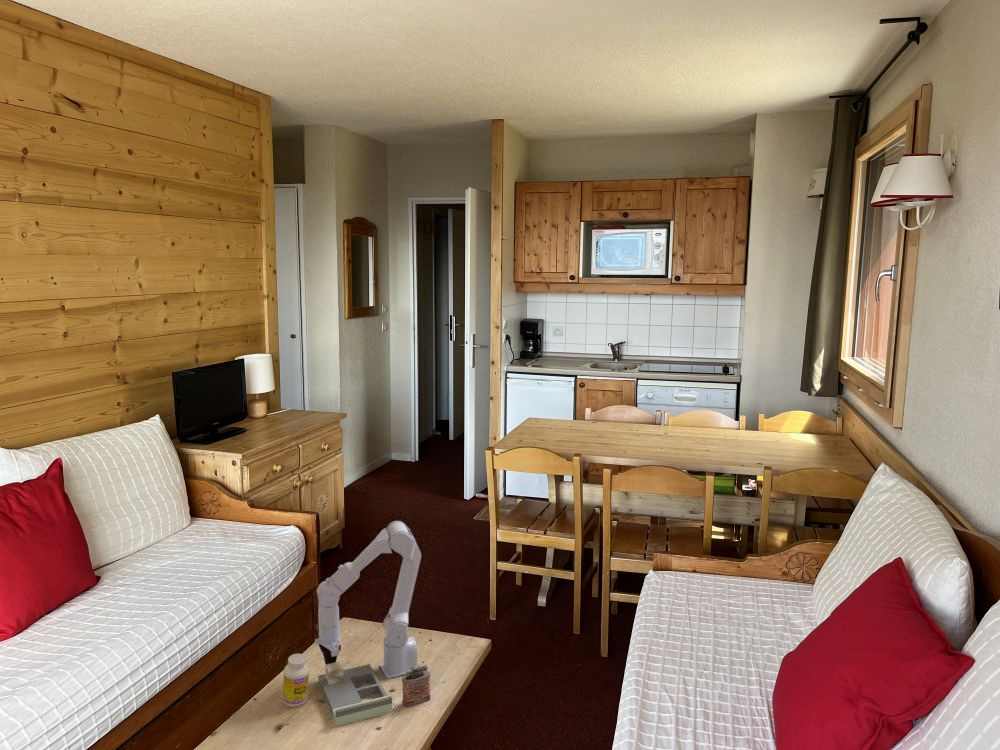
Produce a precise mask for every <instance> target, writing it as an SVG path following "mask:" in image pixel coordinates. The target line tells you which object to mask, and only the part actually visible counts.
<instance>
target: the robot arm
mask: <svg viewBox="0 0 1000 750" xmlns="http://www.w3.org/2000/svg"><path fill="white" fill-rule="evenodd" d="M392 550H393V551H394V552H396V553H398V554H399V555H401V557H402V562H401V565H400V571H399V575H398V578H397V583H396V588H395V592H394V597H393V601H392V604H391V606H390V608H389V610H388V613H387V615H386V617H385V618H384V619H383V622H382V627H383V629H384V632H385V636H384V638H383V663H380V664H379V667H380V668H381V670H382V672H383V674H384V675H385V677H386V678H387V679H391V678H392V679H393V678H394V677H400V676H405V675H406V670H408V669H411V668H412V667H413V666H415V667H418V646H417V642H416V640H415V637H413V636H410V633H409V630H408V627H409V611H410V607H411V603H412V598H413V595H414V594H413V593H414V589H415V585H416V581H417V576H418V572H419V568H420V564H421V559H422V553H421V550H420V548H419V545H418V543H417V541H416V538H415V537H414V535H413V533H412V531H411V529H410V528H409V526H407V525H406V523H405V522H403V521H400V520H394V521H392V522H389V524H388V525H387V527H385V528H383V529H382V530H381V531H380V532H379V533H378V534H377V535H376V537H375V538H374V539H373V540H372V541H371V542H370V544H369V545H368V546H366V547H365V549H363V551H361V552H360V554H358V556H357V557H356V558H355V559H354V560H353V561H349V562H348V561H347V562H345V563H343V564H339V566H338V567H337V568H338V569H337V570H336V571H335V573H333V574H331V576H330V577H326V579H325V580H324V581H322V582H320V584H318V587H317V589H316V593H317V600H318V602H317V603H318V604H317V605H318V610H317V613H318V614H317V615H318V638H315V639H314V642H315V644H316V645H318V647H319V649H320V651H321V653H322V655H323V660H324V663H325V665H326V664H331V663H335V662H337V659H338V656H339V655H340V651H341V649H342V645H341V644H340V642H341V635H340V607H339V605H338V604H339V601H340V598H341V595H343V594H344V593H345V592H346V590H348V589H349V588H350V587H351V586H352V585H353V584H354V583H355V582H356V581H357V580H358V579H359V578H360V577H361V575H360V573H361V571H363V569H364V568H365V567H367V566H368V565H369V564H370V563H371V562H373V560H375V559H376V558H377V557H378V556H379V555H381V554H392V553H393V552H392Z"/></svg>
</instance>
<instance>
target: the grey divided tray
mask: <svg viewBox="0 0 1000 750" xmlns="http://www.w3.org/2000/svg"><path fill="white" fill-rule="evenodd" d="M317 680H318V683H319V684H318V686H319V689H320V690H321V693H322V695H323V696H322V697H324V700H325V703H326V705H327V707H328V710H329V712H330V714H331V717H332V720H333V721H334V723H335V726H336V727H340V726H343V725H347V724H350V723H355V722H359V721H363V720H367V719H370V718H374V717H378V716H382V715H386V714H390V713H393V697H392V696H391V695H390V696H388V694H387V692H386V690H385V688H384V686H383V685H382V683H381V681H380V680H379V678H378V676H377V675H376V673H375V671H374V668H373V667H372V666H371V663H367V664H364V665H358V666H355V667H350V668H346V669H343V682H339V683H335V684H331V685H329V684H328V681H327V679H326V673H325V674H320V675H317ZM369 682H371V683H372V684H370V685H365V686H362V687H358V688H357V687H355V686H357V685H361V684H365V683H369ZM373 695H374V696H375V695H378V696H379V697H377V698H373V699H369V700H364V701H363V700H362V698H363V699H364V698H366V697H370V696H373Z"/></svg>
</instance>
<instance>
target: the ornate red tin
mask: <svg viewBox="0 0 1000 750" xmlns="http://www.w3.org/2000/svg"><path fill="white" fill-rule="evenodd" d="M428 668H429V667H428V665H427V664H423V665H420V666H417V667H415V666H413V667H412V668H411V669H408V670H406V674H405V675H403V676H402V677H401V682H402V700H401V702H402V703H401V704H402V707H405V708H408V707H414V706H418V705H422V704H424V702H425V703H427V702H430V701H431V698H432V697H431V686H430V685H431V683H430V682H431V681H430V680H431V679H430V678H431V672H430V671H428V670H429V669H428Z"/></svg>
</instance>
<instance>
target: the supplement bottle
mask: <svg viewBox="0 0 1000 750" xmlns="http://www.w3.org/2000/svg"><path fill="white" fill-rule="evenodd" d="M309 677H310V668H309V665H308V664H307V657H306V655H304V654H302V653H293V654H291V655H290V656H289V657H288V658H287V664H286V665H285V667H284V669H283V684H282V702H283V703H284V704H285V705H286V706H289V707H291V708H293V707H299V706H302V705H304V704H305V703H306V702H307V701H308V695H309Z"/></svg>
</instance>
